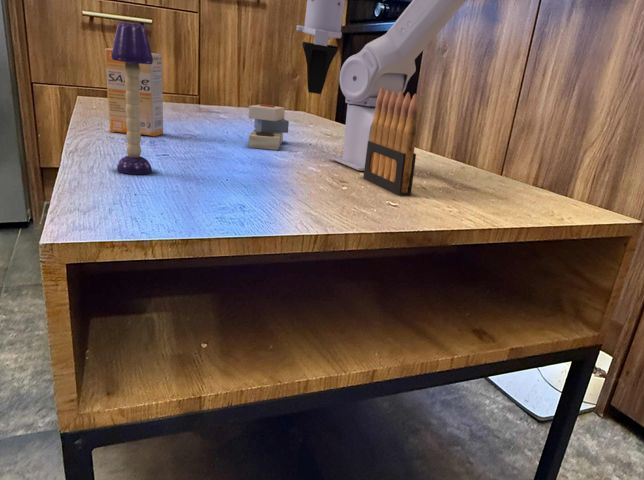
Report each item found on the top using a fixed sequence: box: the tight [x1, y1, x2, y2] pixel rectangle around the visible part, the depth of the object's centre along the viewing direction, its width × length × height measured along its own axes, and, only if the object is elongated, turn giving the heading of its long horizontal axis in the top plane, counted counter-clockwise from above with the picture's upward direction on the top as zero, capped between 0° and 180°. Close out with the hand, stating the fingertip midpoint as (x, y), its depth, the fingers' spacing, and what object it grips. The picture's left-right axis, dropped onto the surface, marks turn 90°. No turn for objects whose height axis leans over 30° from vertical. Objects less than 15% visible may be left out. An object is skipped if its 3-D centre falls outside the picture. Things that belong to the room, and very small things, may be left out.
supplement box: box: [104, 47, 164, 137], centre depth 102 cm, size 8×5×13 cm, turn 80°
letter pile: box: [248, 104, 290, 146], centre depth 108 cm, size 7×7×6 cm
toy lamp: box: [111, 21, 153, 175], centre depth 72 cm, size 5×5×17 cm
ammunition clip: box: [362, 87, 419, 196], centre depth 78 cm, size 11×2×12 cm, turn 22°
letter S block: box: [248, 131, 281, 151], centre depth 103 cm, size 5×5×2 cm
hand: (314, 92), depth 97 cm, fingers closed
